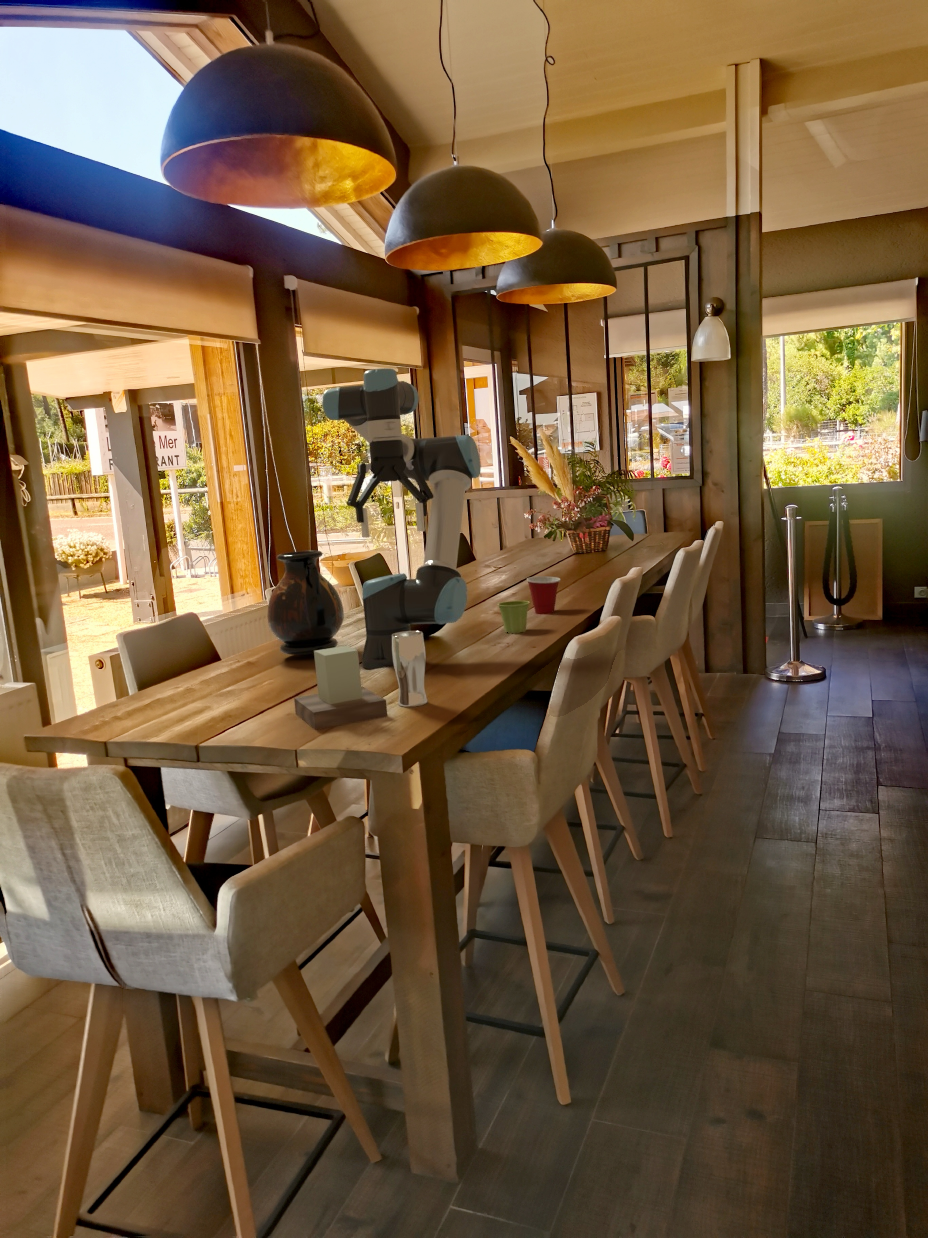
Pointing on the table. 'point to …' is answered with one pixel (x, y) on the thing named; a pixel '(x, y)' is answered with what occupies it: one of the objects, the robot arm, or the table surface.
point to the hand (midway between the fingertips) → (393, 534)
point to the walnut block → (340, 710)
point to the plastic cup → (543, 593)
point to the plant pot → (514, 615)
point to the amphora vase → (304, 606)
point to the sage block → (338, 674)
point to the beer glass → (409, 667)
